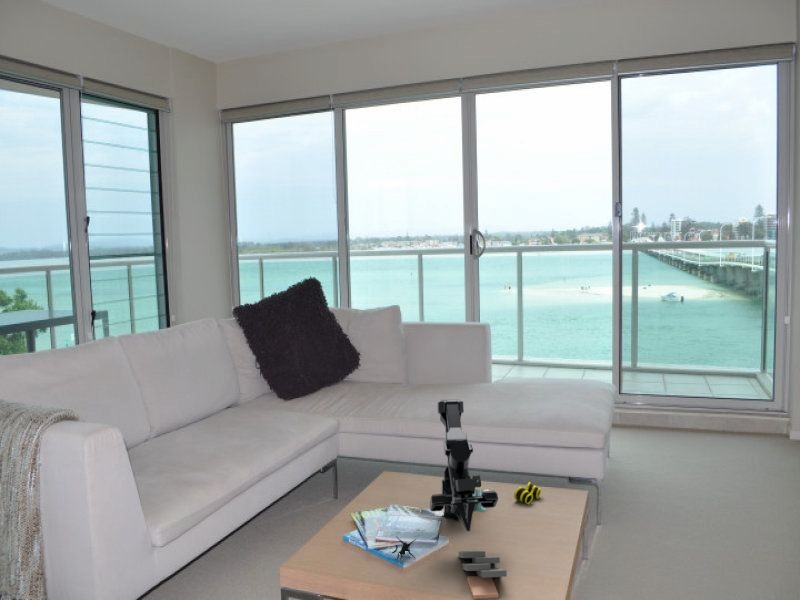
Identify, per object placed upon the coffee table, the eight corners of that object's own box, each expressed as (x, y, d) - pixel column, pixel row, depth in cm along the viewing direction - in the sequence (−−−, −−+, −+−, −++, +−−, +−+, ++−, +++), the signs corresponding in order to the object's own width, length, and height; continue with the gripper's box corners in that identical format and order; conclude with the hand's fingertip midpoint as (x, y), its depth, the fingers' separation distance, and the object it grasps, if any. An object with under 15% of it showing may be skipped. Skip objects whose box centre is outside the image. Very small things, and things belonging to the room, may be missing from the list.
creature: (412, 570, 174) (421, 551, 182) (410, 553, 173) (419, 535, 180) (385, 566, 177) (394, 547, 184) (383, 549, 176) (392, 531, 183)
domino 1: (458, 551, 180) (462, 552, 171) (479, 550, 180) (485, 551, 171) (458, 557, 179) (462, 558, 171) (480, 556, 179) (485, 557, 171)
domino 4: (476, 569, 170) (482, 571, 161) (499, 568, 170) (506, 570, 161) (476, 575, 169) (482, 577, 161) (499, 574, 169) (506, 576, 161)
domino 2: (462, 563, 173) (466, 565, 164) (484, 562, 173) (490, 564, 164) (462, 569, 172) (467, 571, 164) (485, 568, 172) (490, 570, 164)
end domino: (467, 576, 166) (473, 595, 158) (490, 575, 167) (498, 594, 158) (467, 581, 167) (473, 600, 158) (490, 580, 167) (498, 599, 158)
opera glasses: (526, 508, 213) (528, 494, 212) (512, 501, 217) (515, 487, 216) (541, 499, 221) (543, 485, 220) (527, 492, 224) (530, 479, 223)
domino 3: (471, 556, 176) (476, 558, 168) (494, 556, 176) (499, 557, 168) (472, 562, 176) (476, 563, 167) (494, 561, 176) (500, 563, 167)
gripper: (430, 466, 182) (437, 521, 172) (496, 463, 184) (507, 517, 174) (426, 484, 191) (433, 537, 181) (489, 480, 192) (499, 532, 182)
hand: (468, 530), depth 179 cm, fingers closed
